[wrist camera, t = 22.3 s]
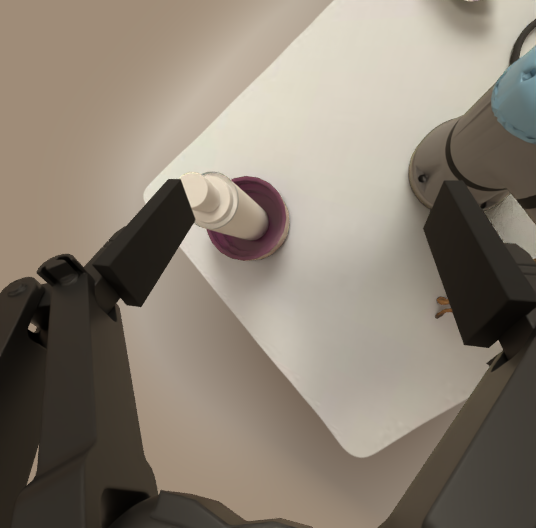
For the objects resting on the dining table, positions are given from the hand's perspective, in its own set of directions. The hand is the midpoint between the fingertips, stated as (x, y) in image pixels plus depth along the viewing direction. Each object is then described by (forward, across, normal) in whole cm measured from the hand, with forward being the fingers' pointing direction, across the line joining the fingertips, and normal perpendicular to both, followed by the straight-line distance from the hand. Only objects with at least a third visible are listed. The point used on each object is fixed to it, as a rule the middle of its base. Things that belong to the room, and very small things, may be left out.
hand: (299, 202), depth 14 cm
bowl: (+26, -12, -22) cm, 36 cm away
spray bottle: (+26, -12, -21) cm, 35 cm away
